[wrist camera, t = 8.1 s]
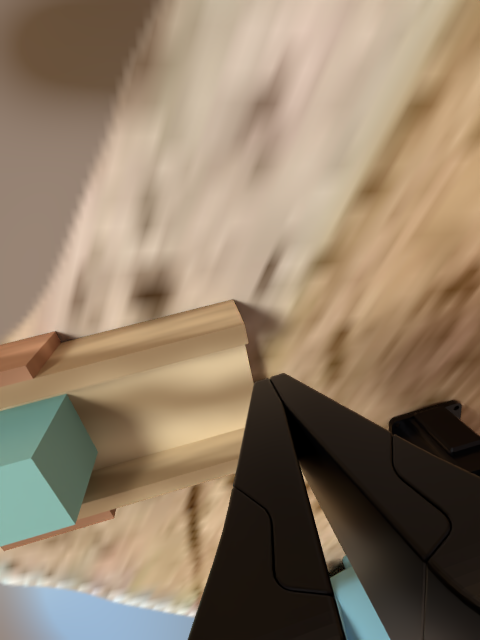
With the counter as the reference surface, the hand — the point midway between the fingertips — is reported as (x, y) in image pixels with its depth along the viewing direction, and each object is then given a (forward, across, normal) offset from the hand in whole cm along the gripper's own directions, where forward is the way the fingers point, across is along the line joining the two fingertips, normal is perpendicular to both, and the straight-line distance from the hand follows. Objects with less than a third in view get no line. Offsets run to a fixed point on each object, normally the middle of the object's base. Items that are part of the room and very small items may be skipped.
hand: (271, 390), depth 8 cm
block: (+11, +14, +7) cm, 19 cm away
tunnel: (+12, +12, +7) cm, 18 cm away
